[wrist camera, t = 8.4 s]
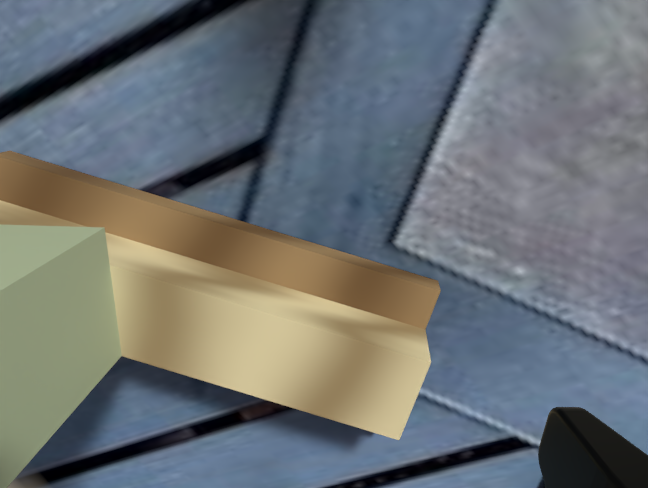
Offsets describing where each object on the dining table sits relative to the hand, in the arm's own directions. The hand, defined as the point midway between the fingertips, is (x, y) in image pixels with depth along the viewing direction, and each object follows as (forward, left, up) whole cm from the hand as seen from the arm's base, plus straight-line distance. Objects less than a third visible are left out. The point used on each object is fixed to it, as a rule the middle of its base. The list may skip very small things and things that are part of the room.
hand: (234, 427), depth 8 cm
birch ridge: (+4, +6, -14) cm, 16 cm away
